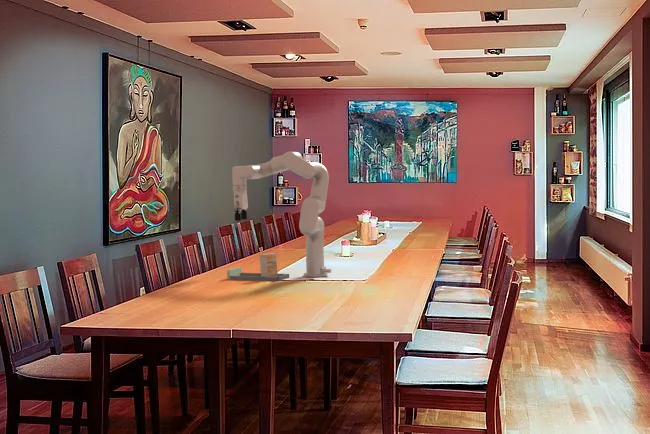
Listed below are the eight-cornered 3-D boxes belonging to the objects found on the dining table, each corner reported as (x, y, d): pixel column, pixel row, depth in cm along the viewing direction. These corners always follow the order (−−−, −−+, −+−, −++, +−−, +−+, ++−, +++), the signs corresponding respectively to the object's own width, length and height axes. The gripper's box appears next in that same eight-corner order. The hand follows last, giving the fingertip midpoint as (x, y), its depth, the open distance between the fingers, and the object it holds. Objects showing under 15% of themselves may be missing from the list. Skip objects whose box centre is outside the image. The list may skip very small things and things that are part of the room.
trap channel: (289, 277, 408) (288, 268, 408) (278, 281, 396) (278, 271, 396) (239, 276, 419) (238, 266, 419) (227, 279, 407) (227, 270, 407)
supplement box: (268, 279, 400) (265, 254, 400) (261, 279, 403) (258, 254, 403) (278, 277, 407) (276, 252, 407) (271, 277, 410) (269, 252, 410)
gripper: (240, 189, 415) (242, 221, 416) (251, 188, 432) (252, 218, 433) (227, 189, 417) (228, 221, 418) (238, 188, 434) (240, 219, 435)
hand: (241, 220), depth 425 cm, fingers open, 9 cm apart
